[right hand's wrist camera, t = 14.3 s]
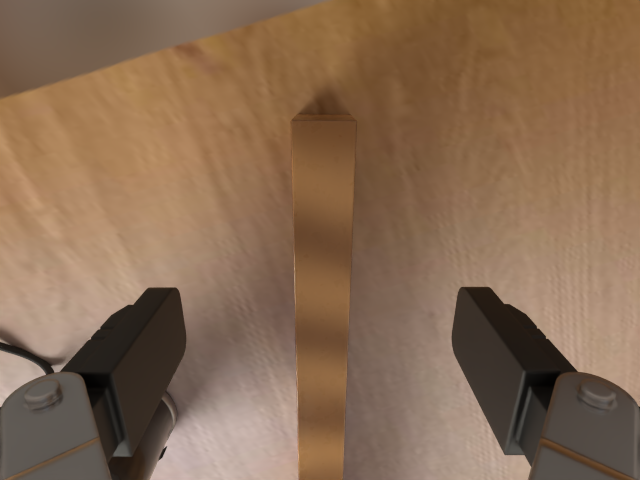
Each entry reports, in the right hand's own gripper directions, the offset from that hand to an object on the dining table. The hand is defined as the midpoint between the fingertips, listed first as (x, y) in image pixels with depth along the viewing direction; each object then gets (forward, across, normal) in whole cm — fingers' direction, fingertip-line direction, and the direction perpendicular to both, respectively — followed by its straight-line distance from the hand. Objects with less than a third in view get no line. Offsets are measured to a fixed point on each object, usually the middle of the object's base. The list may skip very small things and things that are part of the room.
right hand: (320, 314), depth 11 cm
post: (+24, 0, -32) cm, 40 cm away
